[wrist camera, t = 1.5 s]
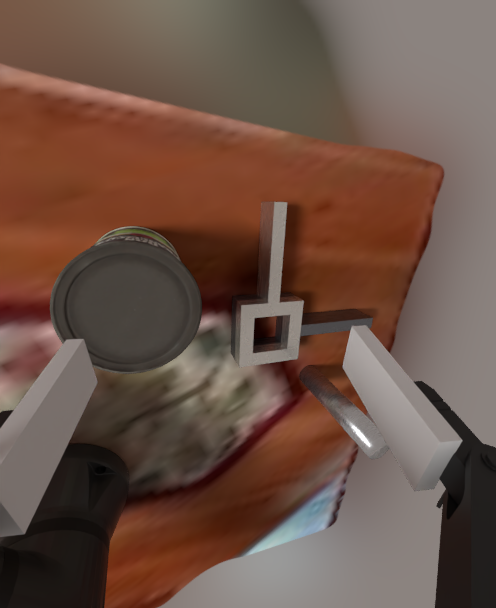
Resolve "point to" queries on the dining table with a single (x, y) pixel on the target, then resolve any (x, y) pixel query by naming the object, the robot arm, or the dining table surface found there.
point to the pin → (345, 413)
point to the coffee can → (127, 301)
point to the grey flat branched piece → (279, 303)
